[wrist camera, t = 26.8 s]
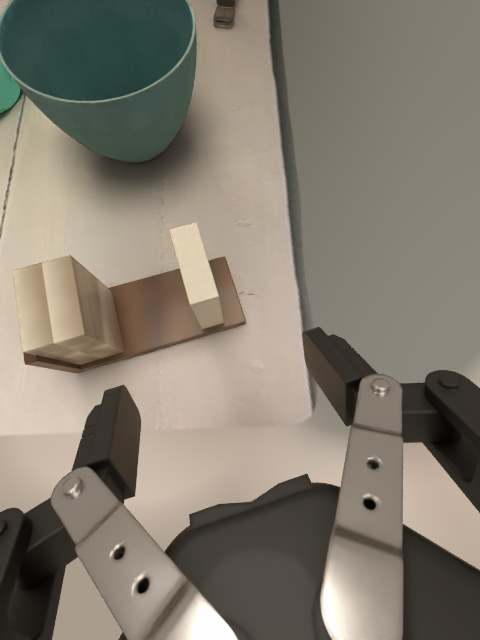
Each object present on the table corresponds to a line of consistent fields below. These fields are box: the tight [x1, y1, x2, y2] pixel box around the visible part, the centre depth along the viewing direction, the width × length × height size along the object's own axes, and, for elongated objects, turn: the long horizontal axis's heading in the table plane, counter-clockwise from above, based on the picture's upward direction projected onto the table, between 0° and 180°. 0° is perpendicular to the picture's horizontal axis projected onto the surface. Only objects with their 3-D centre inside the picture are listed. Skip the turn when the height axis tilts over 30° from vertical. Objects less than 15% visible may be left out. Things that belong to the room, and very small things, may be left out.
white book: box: [169, 223, 224, 329], centre depth 29 cm, size 2×7×8 cm, turn 17°
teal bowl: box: [0, 0, 196, 163], centre depth 34 cm, size 18×18×12 cm
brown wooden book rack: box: [13, 255, 246, 373], centre depth 29 cm, size 19×8×10 cm, turn 107°
